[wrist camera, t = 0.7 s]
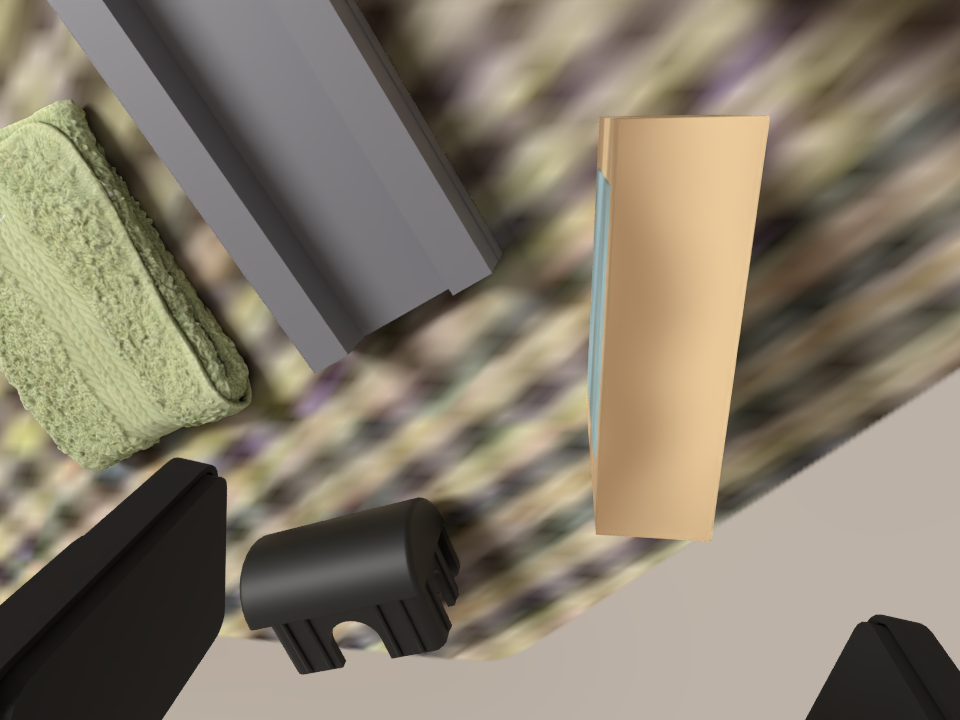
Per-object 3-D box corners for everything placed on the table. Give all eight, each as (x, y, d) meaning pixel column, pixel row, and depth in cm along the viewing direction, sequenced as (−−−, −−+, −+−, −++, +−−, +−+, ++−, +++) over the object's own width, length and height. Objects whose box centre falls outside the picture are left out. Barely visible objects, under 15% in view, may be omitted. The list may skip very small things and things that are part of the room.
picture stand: (220, -229, 24) (160, -289, 21) (502, 252, 30) (494, 272, 26) (56, -66, 27) (-23, -94, 24) (341, 345, 33) (313, 374, 29)
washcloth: (84, 84, 30) (32, 81, 27) (275, 390, 35) (249, 415, 32) (-91, 200, 34) (-154, 209, 31) (105, 464, 39) (67, 493, 36)
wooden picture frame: (695, 114, 27) (774, 115, 17) (666, 406, 32) (713, 541, 22) (597, 117, 27) (616, 119, 17) (584, 403, 33) (593, 534, 22)
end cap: (427, 468, 35) (397, 545, 29) (470, 566, 38) (451, 657, 31) (277, 507, 38) (220, 585, 31) (326, 597, 40) (281, 687, 34)
